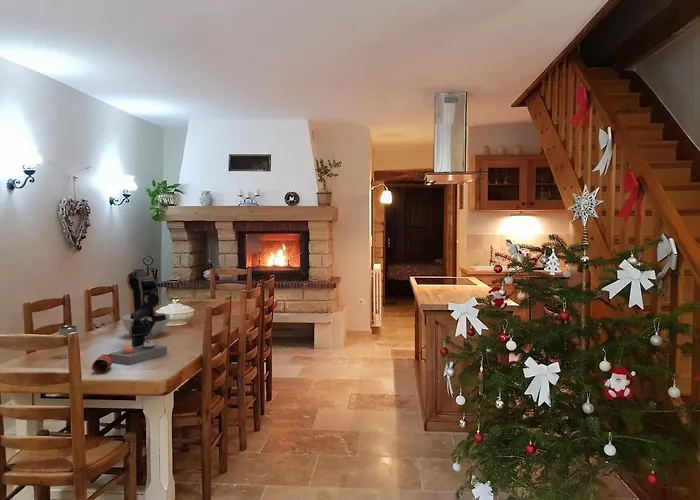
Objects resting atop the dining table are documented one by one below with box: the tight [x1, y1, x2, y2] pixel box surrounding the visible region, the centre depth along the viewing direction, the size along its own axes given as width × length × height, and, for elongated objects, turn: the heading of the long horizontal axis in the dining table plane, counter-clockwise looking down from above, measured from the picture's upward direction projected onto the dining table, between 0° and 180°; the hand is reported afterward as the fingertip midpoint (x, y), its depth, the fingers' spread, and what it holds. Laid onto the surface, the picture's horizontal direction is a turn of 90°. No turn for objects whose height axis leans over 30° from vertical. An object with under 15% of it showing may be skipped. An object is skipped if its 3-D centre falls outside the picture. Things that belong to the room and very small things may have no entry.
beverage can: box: [91, 354, 113, 375], centre depth 243 cm, size 7×12×7 cm, turn 13°
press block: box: [108, 344, 168, 366], centre depth 266 cm, size 14×24×4 cm, turn 155°
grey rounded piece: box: [144, 340, 154, 349], centre depth 272 cm, size 4×4×4 cm
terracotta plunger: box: [122, 345, 133, 354], centre depth 260 cm, size 4×4×4 cm
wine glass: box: [58, 325, 78, 359], centre depth 268 cm, size 8×8×15 cm
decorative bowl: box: [121, 312, 171, 339], centre depth 318 cm, size 27×27×12 cm
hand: (148, 333), depth 271 cm, fingers closed
